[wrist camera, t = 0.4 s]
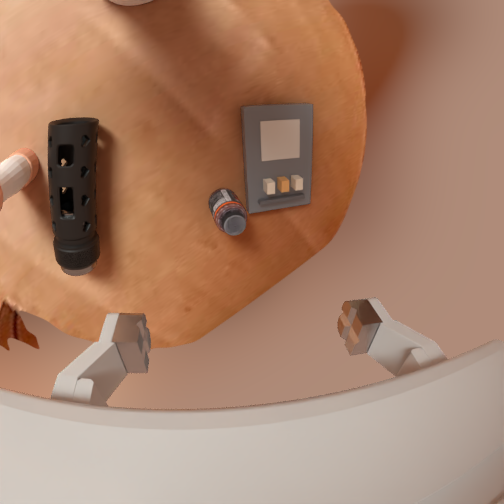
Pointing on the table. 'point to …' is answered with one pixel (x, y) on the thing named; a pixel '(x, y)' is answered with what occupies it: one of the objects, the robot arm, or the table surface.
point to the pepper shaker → (17, 172)
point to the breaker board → (277, 155)
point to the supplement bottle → (227, 211)
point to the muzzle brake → (73, 193)
